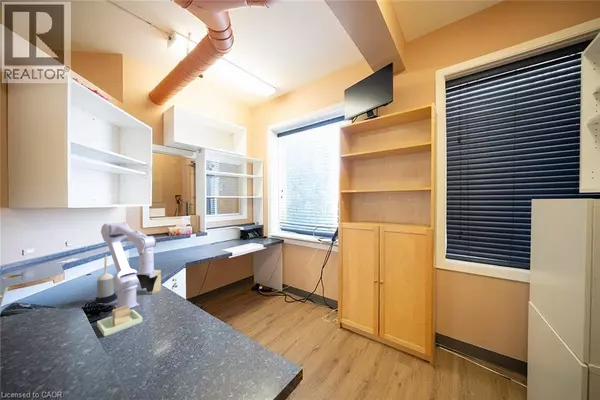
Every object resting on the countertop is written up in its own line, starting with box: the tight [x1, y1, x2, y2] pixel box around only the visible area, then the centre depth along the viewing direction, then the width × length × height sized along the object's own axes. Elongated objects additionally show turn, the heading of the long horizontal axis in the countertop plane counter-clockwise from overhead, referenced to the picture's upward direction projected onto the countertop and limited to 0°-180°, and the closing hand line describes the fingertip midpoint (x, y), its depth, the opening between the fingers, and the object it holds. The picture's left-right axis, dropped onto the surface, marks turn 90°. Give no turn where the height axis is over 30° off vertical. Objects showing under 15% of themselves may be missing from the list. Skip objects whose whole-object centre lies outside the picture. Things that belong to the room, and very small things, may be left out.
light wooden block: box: [145, 269, 162, 295], centre depth 127 cm, size 6×4×12 cm
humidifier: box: [94, 254, 117, 304], centre depth 116 cm, size 8×8×25 cm
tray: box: [96, 309, 144, 338], centre depth 93 cm, size 13×13×2 cm
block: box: [112, 306, 131, 327], centre depth 93 cm, size 4×5×6 cm
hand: (147, 289), depth 104 cm, fingers open, 7 cm apart
